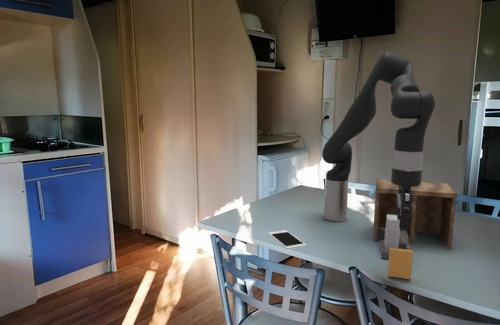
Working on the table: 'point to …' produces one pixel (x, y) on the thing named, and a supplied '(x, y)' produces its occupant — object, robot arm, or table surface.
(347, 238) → the table surface
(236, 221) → the table surface
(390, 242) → the skincare box
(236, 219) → the table surface
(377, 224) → the cubby shelf
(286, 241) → the cell phone
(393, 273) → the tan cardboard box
